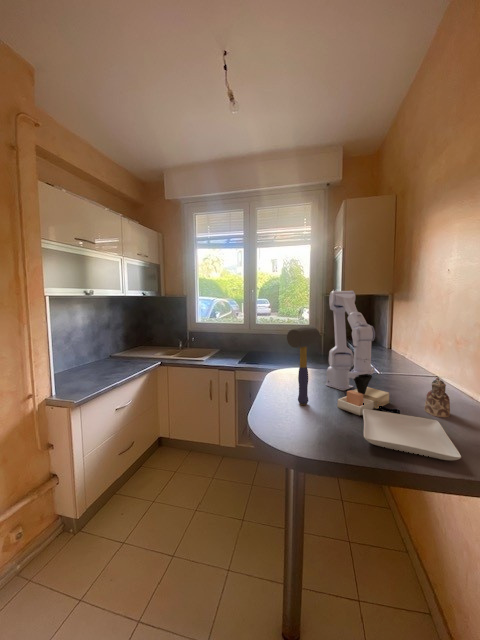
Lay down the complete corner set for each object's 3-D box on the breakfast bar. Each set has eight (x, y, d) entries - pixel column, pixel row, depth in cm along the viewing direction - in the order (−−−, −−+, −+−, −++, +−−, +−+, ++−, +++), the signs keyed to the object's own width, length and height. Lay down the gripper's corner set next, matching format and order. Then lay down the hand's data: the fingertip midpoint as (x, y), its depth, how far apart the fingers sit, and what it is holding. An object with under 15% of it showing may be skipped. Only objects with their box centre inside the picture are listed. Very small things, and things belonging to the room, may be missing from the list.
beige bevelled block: (351, 400, 102) (352, 390, 102) (363, 395, 107) (364, 385, 107) (377, 408, 94) (377, 398, 94) (389, 402, 99) (389, 392, 99)
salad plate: (437, 429, 80) (437, 418, 79) (462, 470, 60) (463, 457, 60) (362, 417, 89) (362, 407, 88) (363, 449, 69) (363, 437, 69)
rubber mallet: (305, 397, 106) (305, 325, 103) (320, 403, 100) (322, 326, 98) (284, 405, 98) (285, 327, 96) (300, 411, 92) (301, 329, 90)
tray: (337, 407, 96) (337, 399, 96) (351, 401, 101) (351, 394, 101) (359, 415, 89) (360, 407, 88) (373, 409, 94) (373, 401, 94)
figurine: (423, 413, 90) (425, 380, 89) (425, 406, 95) (426, 375, 95) (449, 419, 85) (451, 384, 85) (449, 412, 91) (451, 378, 90)
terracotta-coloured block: (350, 402, 98) (346, 404, 96) (350, 390, 97) (346, 391, 96) (363, 407, 94) (359, 409, 92) (363, 394, 93) (359, 395, 92)
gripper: (362, 363, 88) (361, 401, 89) (383, 357, 97) (381, 392, 98) (343, 359, 94) (342, 395, 95) (364, 354, 102) (364, 387, 103)
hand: (361, 393), depth 97 cm, fingers closed
